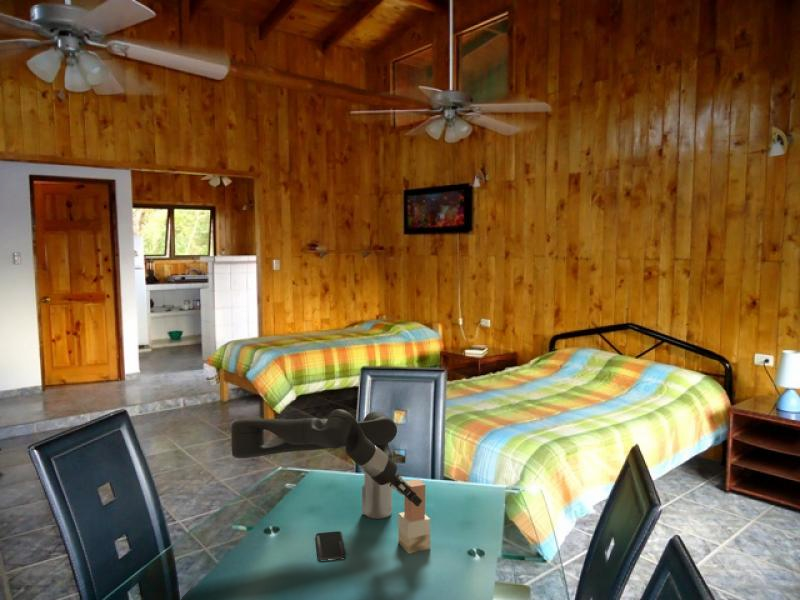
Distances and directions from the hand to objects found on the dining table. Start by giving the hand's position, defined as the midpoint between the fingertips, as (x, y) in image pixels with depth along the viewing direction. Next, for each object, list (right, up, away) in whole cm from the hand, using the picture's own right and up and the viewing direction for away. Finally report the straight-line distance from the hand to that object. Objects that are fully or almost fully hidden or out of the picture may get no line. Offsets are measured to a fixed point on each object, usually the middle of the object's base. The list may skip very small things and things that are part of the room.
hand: (412, 497), depth 166 cm
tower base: (0, -15, +2) cm, 15 cm away
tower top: (0, -10, +2) cm, 11 cm away
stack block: (+1, -6, +1) cm, 6 cm away
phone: (-24, -15, +1) cm, 28 cm away
